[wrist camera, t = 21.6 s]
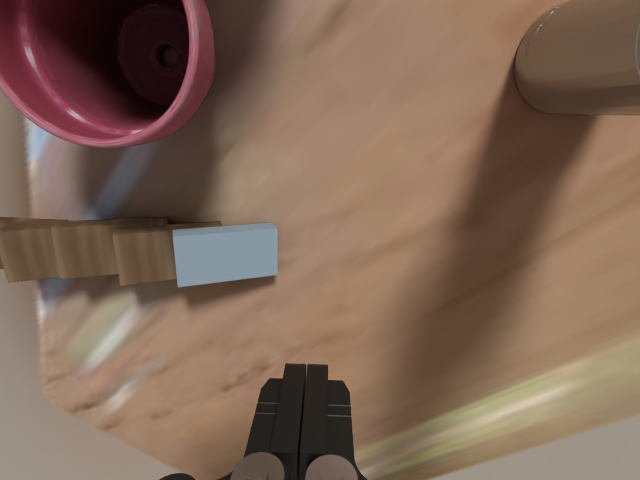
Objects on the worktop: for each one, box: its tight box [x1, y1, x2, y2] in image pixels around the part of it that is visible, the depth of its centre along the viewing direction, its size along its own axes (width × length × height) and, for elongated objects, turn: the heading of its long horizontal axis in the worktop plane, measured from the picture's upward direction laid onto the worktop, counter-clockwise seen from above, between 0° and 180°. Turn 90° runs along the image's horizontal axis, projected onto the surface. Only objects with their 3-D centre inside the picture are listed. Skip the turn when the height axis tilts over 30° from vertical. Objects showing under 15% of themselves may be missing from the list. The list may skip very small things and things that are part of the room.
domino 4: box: [112, 221, 222, 286], centre depth 37 cm, size 2×5×10 cm
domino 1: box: [0, 217, 68, 269], centre depth 40 cm, size 2×5×10 cm
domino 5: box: [173, 223, 278, 287], centre depth 37 cm, size 2×5×10 cm
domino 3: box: [51, 217, 168, 279], centre depth 37 cm, size 2×5×10 cm
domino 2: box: [0, 219, 107, 282], centre depth 38 cm, size 2×5×10 cm
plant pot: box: [0, 0, 216, 148], centre depth 28 cm, size 14×14×13 cm
